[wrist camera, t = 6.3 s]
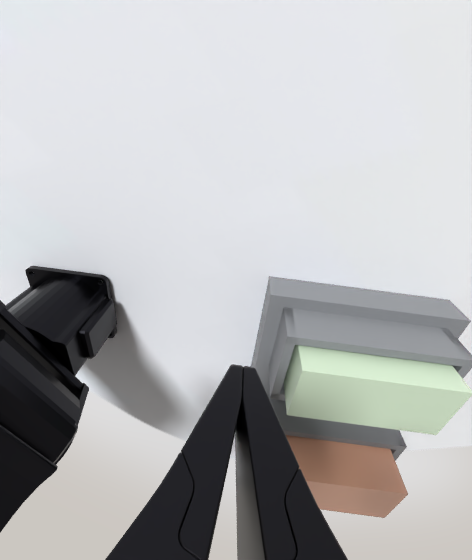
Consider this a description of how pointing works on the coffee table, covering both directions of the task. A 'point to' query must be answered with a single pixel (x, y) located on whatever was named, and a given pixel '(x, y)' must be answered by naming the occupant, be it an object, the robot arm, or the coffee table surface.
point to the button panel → (351, 343)
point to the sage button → (372, 390)
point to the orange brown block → (349, 476)
